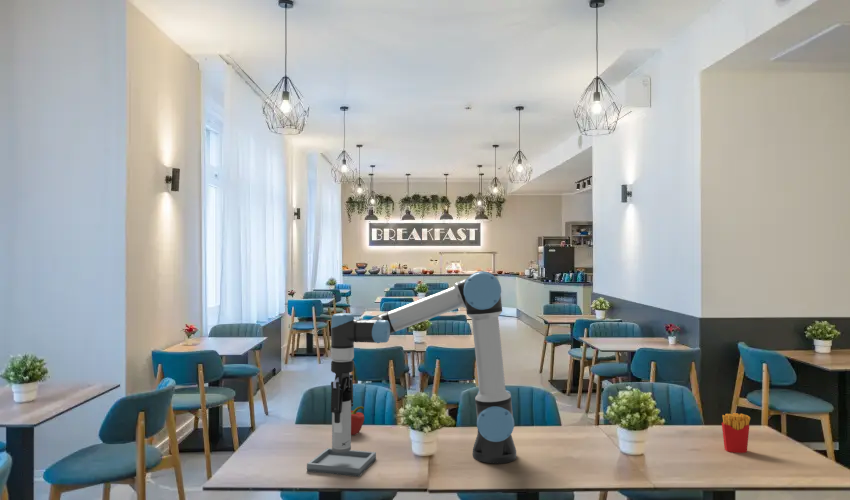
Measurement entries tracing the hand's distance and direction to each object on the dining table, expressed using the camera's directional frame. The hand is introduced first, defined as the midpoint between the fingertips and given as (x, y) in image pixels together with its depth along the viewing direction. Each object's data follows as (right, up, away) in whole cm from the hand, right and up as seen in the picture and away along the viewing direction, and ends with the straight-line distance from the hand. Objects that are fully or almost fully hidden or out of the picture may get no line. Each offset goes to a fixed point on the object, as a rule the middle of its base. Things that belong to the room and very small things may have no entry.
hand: (342, 429), depth 192 cm
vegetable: (-1, -13, +35) cm, 37 cm away
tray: (0, -12, 0) cm, 12 cm away
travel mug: (0, -7, 0) cm, 7 cm away
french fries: (+139, -12, +13) cm, 140 cm away
